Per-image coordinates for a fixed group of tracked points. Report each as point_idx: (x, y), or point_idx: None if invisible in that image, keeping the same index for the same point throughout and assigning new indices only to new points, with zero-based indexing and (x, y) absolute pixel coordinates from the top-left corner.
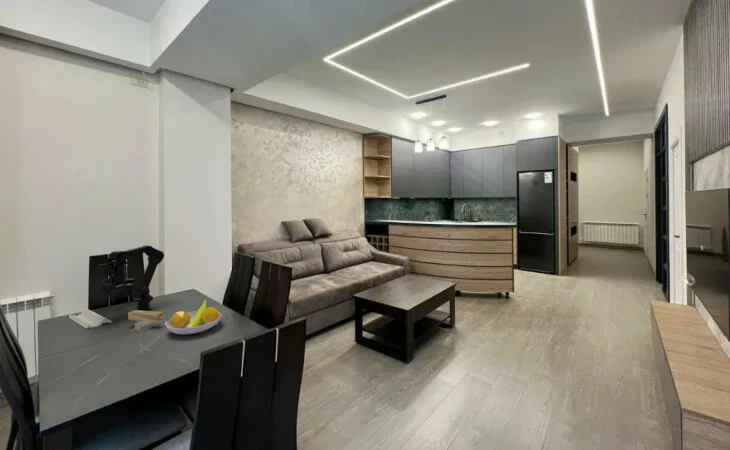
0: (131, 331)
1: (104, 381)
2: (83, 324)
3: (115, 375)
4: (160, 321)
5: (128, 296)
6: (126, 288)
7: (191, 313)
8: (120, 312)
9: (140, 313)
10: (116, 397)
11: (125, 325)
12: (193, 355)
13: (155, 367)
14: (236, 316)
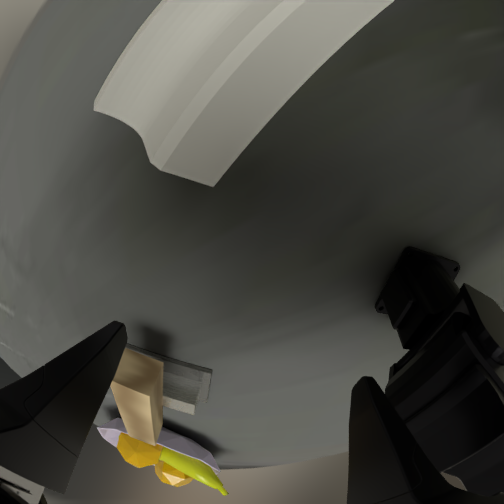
0: None
1: (3, 346)
2: (139, 31)
3: (12, 354)
4: (199, 399)
5: (355, 393)
6: (392, 496)
7: (204, 458)
8: (441, 126)
9: (120, 411)
10: (5, 361)
11: (157, 298)
12: None
13: None
14: (240, 467)
